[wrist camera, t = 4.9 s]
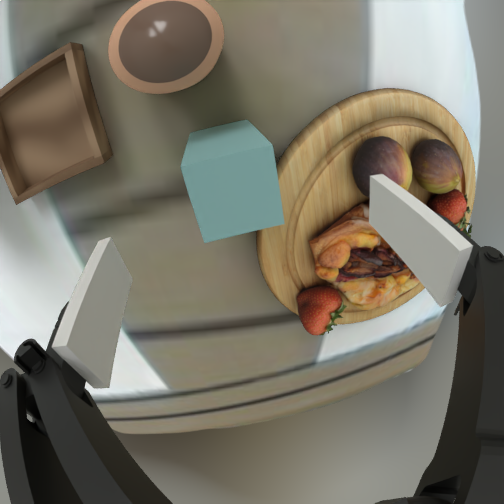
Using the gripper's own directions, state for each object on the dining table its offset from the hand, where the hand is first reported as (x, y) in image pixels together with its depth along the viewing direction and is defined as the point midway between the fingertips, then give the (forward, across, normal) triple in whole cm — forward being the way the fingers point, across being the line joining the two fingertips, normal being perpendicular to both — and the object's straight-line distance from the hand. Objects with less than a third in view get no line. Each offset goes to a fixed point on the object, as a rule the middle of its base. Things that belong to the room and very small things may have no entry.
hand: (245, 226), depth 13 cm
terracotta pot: (+13, -2, +10) cm, 17 cm away
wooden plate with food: (+14, +17, -11) cm, 24 cm away
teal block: (+13, 0, 0) cm, 13 cm away
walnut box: (+13, -16, +9) cm, 22 cm away
